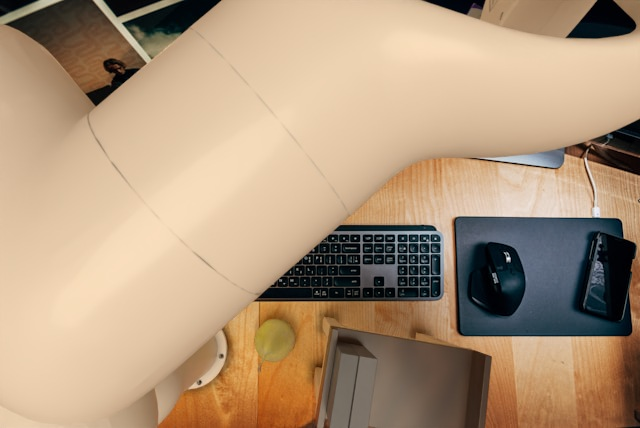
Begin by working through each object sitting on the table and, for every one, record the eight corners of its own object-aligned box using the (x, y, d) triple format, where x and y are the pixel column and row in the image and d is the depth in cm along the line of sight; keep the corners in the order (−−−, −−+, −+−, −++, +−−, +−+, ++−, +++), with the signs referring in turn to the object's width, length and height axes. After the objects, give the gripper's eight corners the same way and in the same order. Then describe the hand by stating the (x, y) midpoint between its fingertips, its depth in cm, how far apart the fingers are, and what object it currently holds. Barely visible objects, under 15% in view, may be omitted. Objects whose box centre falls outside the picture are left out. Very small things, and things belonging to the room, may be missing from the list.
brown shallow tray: (315, 415, 54) (316, 428, 49) (330, 325, 56) (332, 328, 51) (467, 441, 54) (482, 456, 49) (476, 350, 56) (492, 356, 51)
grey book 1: (324, 403, 53) (328, 429, 44) (334, 341, 55) (340, 352, 45) (339, 406, 53) (347, 432, 44) (349, 343, 55) (359, 355, 45)
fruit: (301, 327, 77) (301, 334, 65) (283, 368, 76) (279, 383, 64) (267, 311, 77) (260, 315, 65) (248, 352, 76) (238, 363, 64)
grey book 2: (340, 406, 53) (348, 432, 44) (349, 343, 55) (359, 355, 45) (355, 409, 53) (366, 436, 44) (364, 346, 55) (377, 358, 45)
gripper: (570, -212, 28) (465, -15, 46) (503, 18, 25) (419, 132, 43) (684, -176, 28) (534, 7, 45) (631, 60, 25) (492, 157, 42)
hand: (479, 67), depth 44 cm, fingers closed on box, 5 cm apart
